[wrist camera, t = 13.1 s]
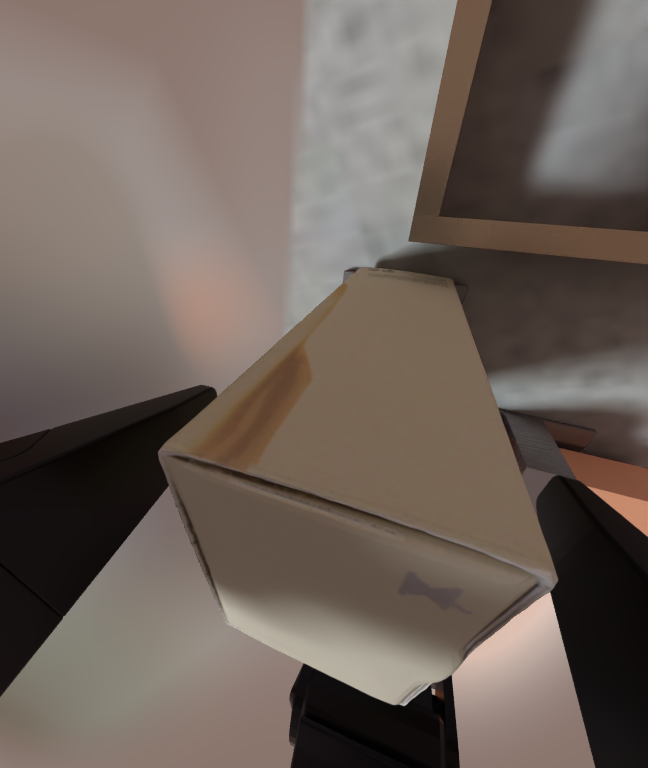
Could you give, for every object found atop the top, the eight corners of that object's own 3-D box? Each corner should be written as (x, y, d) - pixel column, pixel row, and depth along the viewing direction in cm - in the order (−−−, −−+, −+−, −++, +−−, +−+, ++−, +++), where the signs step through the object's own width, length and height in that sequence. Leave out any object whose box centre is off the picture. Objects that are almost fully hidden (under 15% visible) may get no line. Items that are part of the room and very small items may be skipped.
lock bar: (613, 500, 15) (659, 571, 12) (444, 456, 17) (448, 507, 14) (652, 462, 13) (717, 532, 10) (460, 418, 15) (468, 466, 12)
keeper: (548, 488, 16) (580, 559, 13) (395, 447, 18) (388, 499, 15) (594, 430, 14) (648, 498, 10) (411, 390, 16) (407, 436, 12)
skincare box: (358, 264, 13) (128, 421, 3) (456, 276, 12) (609, 573, 2) (343, 380, 16) (214, 633, 6) (418, 396, 15) (404, 726, 5)
